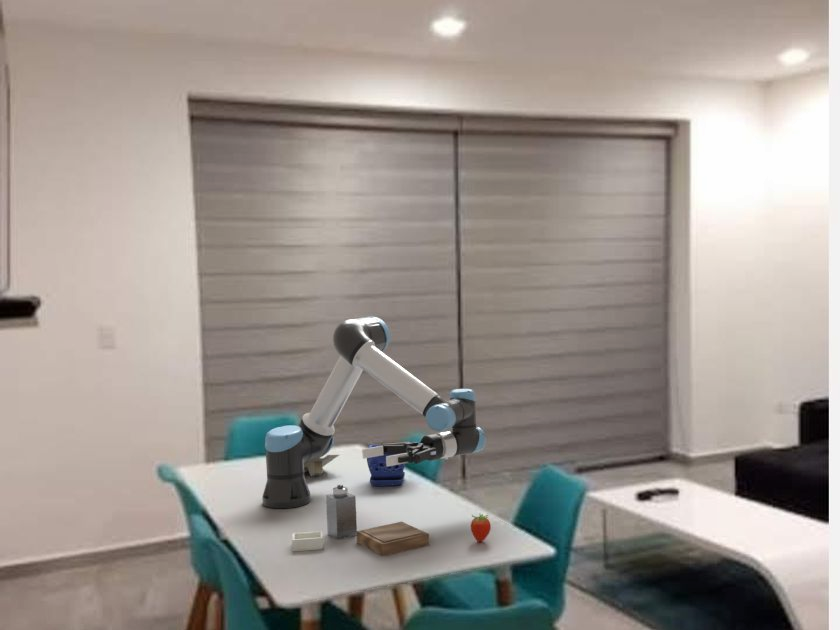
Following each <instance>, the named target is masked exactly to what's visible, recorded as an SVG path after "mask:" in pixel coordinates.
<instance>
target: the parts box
mask: <svg viewBox="0 0 840 630" xmlns="http://www.w3.org/2000/svg"><path fill="white" fill-rule="evenodd" d="M323 533H324V532H323V530H320V531H319V530H318V531H306V532H305V531H304V532H293V533H292V534H291V535H292V536H291V537H292V539H291V542H292V552H301V551H302V552H303V551H315V550H316V551H317V550H324V535H323Z"/></svg>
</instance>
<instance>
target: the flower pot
mask: <svg viewBox="0 0 840 630" xmlns="http://www.w3.org/2000/svg"><path fill="white" fill-rule="evenodd" d="M377 446H380V444H370V445H369V446H368V448H371V447H377ZM391 455H397V454H384V456H383V457H382V456H376V457H371V458H366V463H367V467H368V470H369V473H370V475H371V476H370V477H369V483H370V484H371V485H372V486H374V487H380V486H381V487H382V486H383V487H385V486H387V487H388V486H401V485H402V484H403V483H404V480H405V471H404V470H405V466H406V463H404V464H399V465H394V466H386V456H391Z"/></svg>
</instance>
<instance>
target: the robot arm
mask: <svg viewBox="0 0 840 630" xmlns="http://www.w3.org/2000/svg"><path fill="white" fill-rule="evenodd" d="M390 339H391V333H390V329H389V327H388V325H387V324H386V323H385V321H384V320H382V319H381V318H380V317H376V316H369V315H367V316H364V317H363V316H362V317H358V318H350V319H346V320H343V321H342V322H340V323H339V324H338V325H337V326H336V328H335V329H334V331H333V335H332V343H333V346H334V349H335V350H336V352H337V354H338V355H339V358H338V360H337V361H336V363H335V365H334V367H333V369H332V370H331V372H330V375H329V376H328V378H327V380H326V382H325V384H324V386H323V388H322V389H321V391H320V393H319V395H318V397H317V398H316V401H315V403H314V404H313V407H312V409H310V412H306V413H305V414H303V415H302V418H301V419H300V421H299V423H298V425H292V424H291V425H290V424H289V425H283V426H278V427H274V428H272V429H270V430H269V431H267V432H266V435H265V443H264V449H265V460H266V462H265V463H266V464H265V465H266V483H265V486H264V490H263V493H262V501H261V502H262V505H263V507H266V508H270V509H290V508H291V509H292V508H296V507H297V508H298V507H301V506H302V507H303V506H305V505H308V504H309V503H310V502H311V501H312V499H311V496H312V495H311V491H310V488H309V486H308V483H307V480H306V479H305V472H304V463H306V462H309V461H312V460H315V459H318V458H323V457H325V455H328V453H329V452H330V451H331V449H333V446H334V443H335V442H334V441H335V437H334V434H335V431H336V429H335V426H334V424H335V423H336V421H337V419H338V417H339V415H340V414H341V412H342V410H343V408H344V406H345V404H346V402H347V401H348V399H349V397H350V395H351V393H352V391H353V390H354V387H355V386H356V383H357V382H358V380H359V379H360V377H361V376H362V375H361V374H362V373H363V371H364V372H366V373H367V374H369V375H370V376H371V377H372V378H374V379H375V380H376V381H377V382H379V383H380V384H382V385H383V386H384V387H385V388H387V389H388V390H389V391H391V392H392V393H393V394H395V395H396V396H397V397H399V398H400V399H401V400H403V401H404V402H405V403H406V404H407V405H409V406H410V407H411V408H413V409H414V410H415V411H417V412H418V413H419V414H421V415H422V416H423V417H424V418H425V422H426V424H427V425H428V428H430V429H431V430H433V431H435V432H437V433H433V434H431V433H430V434H425V435H423V436H422V438H421V440H420V442H419V441H412V440H411V441H404V442H403V441H402V442H391V443H390V442H389V443H380V444H379V445H380V446H377V447H371V448H369V447H366V448H362V449H361V450H362V451H361V452H362V459H367V458H371V457H376V456H382V457H383V456H384V454H397V455H391V456H386V466H394V465H399V464H404V463H405V464H408V463H409V464H412V463H414V464H419V463H422V462H424V461H428V462H431V461H436V460H441V459H444V460H448V459H449V458H453V457H457V456H464V455H470V454H474V453H477V452H480V451H482V450H483V449H484V448H485V446H486V439H487V438H486V436H485V431H484V430H483V429H482V428H481V427H479V426H477V415H476V414H477V412H476V408H477V407H476V403H477V401H476V394H475V393H476V392H475V391H474V390H473V389H470V388H456V389H452V390H450V392H449V399H448V400H447V399H445V398H443V396H441V395H439V393H437V392H436V391H435V390H433V389H431V387H429V386H427V384H425V383H424V382H422V381H421V380H420V379H418V378H417V377H416V376H415V375H413V374H412V373H410V372H409V371H408V370H406V368H404V367H402V366H401V365H400V364H399V363H398V362H396V361H394V360H393V359H392V358H391V357H389V356H388V355H386V354H385V353H384V352H383V351H385V350H386V349H387V348H388V346H389V344H390V342H391V341H390ZM450 429H451V430H450ZM448 430H449V431H448Z"/></svg>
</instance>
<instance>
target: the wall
mask: <svg viewBox="0 0 840 630" xmlns="http://www.w3.org/2000/svg"><path fill="white" fill-rule="evenodd" d="M339 456H340V454H326V456H323V457H320V458H318V459H315V460H312V461H309V462H306V463H304V473H305V472H306V473H307V472H308V473H309V475H310V476H311V477H319V476H321V475H322V474H323V473H324V469H323V468H324V467H325V466H326V465H329V463H330V462H332V461H333V460H335V459H336V458H338V457H339Z"/></svg>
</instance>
